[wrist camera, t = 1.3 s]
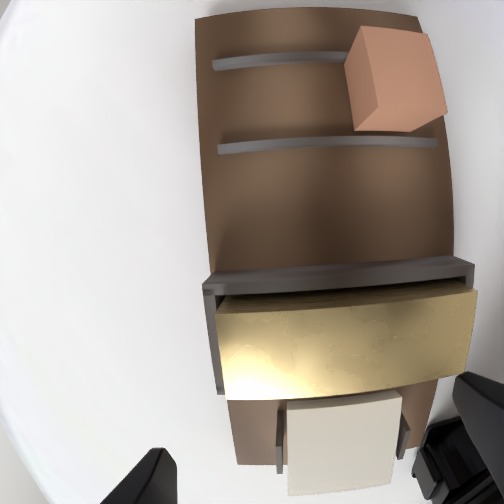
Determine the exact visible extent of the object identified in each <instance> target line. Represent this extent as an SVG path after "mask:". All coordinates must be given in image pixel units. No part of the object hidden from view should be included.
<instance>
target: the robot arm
mask: <svg viewBox="0 0 504 504" xmlns="http://www.w3.org/2000/svg"><path fill="white" fill-rule="evenodd" d="M452 398H453V401H454V403H455V405H456V408H457V410H458V412H459V414H460V417H457V418H454V419H450V420H447V421H443V422H440V423H436V424H433V425H430V426H429V427H428V428H427V430H426V433H425V436H424V439H423V442H422V445H421V448H420V449H419V451H418V454H417V457H416V460H415V462H414V465H413V470H412V473H411V474H412V477H413V478H417V480H418V483H419V486H420V488H421V491H422V493H423V496H424V498H425V499H426V500H429V499H431V501H432V504H504V384H502V383H499V382H496V381H494V380H491V379H488V378H485V377H483V376H480V375H477V374H475V373H472V372H469V371H466V372H463V373H461V374H459V375H458V376H457V377H456V379H455V383H454V388H453V393H452ZM100 504H177V466H176V463H175V461H174V460H173V458H172V457H171V455H170V454H169V453H168V451H167V450H166V449H165V448H152V449H150V450H149V452H148V453H147V454H146V455H145V456H144V457H143V458H142V459H141V460H140V461H139V463H138V464H137V465H136V466H135V467H134V468H133V469H132V470H131V471H130V472H129V473H128V475H127V476H126V477H125V478H124V479H123V480H122V481H121V482H120V483H119V484H118V485H117V486H116V487H115V488H114V489H113V491H112V492H111V493H110V494H109V495H108V496H107V497H106V498H105V499H104V500H103V501H102V502H101V503H100Z"/></svg>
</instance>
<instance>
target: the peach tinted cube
mask: <svg viewBox="0 0 504 504" xmlns="http://www.w3.org/2000/svg"><path fill="white" fill-rule="evenodd" d="M344 69H345V74H346V80H347V86H348V92H349V98H350V104H351V111H352V118H353V126H354V131H398V132H411V131H413V130H415V129H417V128H419V127H421V126H422V125H424V124H426V123H428V122H430V121H432V120H434V119H436V118H438V117H440V116H442V115H444V114H446V113H447V107H446V102H445V97H444V93H443V88H442V84H441V80H440V76H439V72H438V68H437V64H436V60H435V57H434V53H433V50H432V47H431V43H430V40H429V37H428V34H423V33H417V32H411V31H404V30H397V29H390V28H381V27H371V26H360V29H359V31H358V33H357V36H356V38H355V40H354V42H353V45H352V47H351V49H350V52H349V54H348V56H347V58H346V61H345V63H344Z"/></svg>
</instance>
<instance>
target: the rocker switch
mask: <svg viewBox="0 0 504 504" xmlns="http://www.w3.org/2000/svg"><path fill="white" fill-rule="evenodd" d="M401 405H402V396H401V395H400V394H399V393H398V392H397V391H396V390H391V391H385V392H379V393H372V394H365V395H357V396H349V397H339V398H329V399H318V400H304V401H287V447H288V496H294V495H312V494H324V493H333V492H342V491H349V490H356V489H363V488H369V487H374V486H380V485H385V484H389V483H390V481H391V476H392V471H393V465H394V460H395V453H396V447H397V440H398V432H399V424H400V415H401Z"/></svg>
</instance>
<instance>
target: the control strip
mask: <svg viewBox="0 0 504 504" xmlns="http://www.w3.org/2000/svg"><path fill="white" fill-rule="evenodd" d="M360 26H371V27H381V28H390V29H397V30H404V31H411V32H417V33H423V32H422V29H421V26H420V24H419V21H418V18H417V17H415V16H410V15H404V14H397V13H390V12H383V11H374V10H364V9H351V8H330V7H296V8H275V9H261V10H251V11H242V12H234V13H227V14H220V15H214V16H209V17H203V18H198V19H195V51H196V82H197V105H198V124H199V141H200V157H201V171H202V185H203V197H204V209H205V221H206V232H207V242H208V252H209V262H210V272H211V276H210V277H209V278H208V279H207V280H206V281H205V282H204V283H203V284H202V290H203V298H204V306H205V314H206V321H207V329H208V336H209V343H210V350H211V357H212V364H213V370H214V377H215V383H216V389H217V395H226V392H225V386H224V379H223V372H222V365H221V358H220V350H219V343H218V335H217V327H216V319H215V313H216V311H217V310H218V308H219V306H220V305H221V303H222V301H223V300H224V298H225V296H226V295H239V294H260V293H278V292H295V291H311V290H325V289H338V288H351V287H363V286H375V285H386V284H396V283H406V282H416V281H425V280H434V279H443V278H453V279H455V280H457V281H459V282H461V283H463V284H465V285H467V286H469V287H471V288H473V282H474V268H475V264H473V263H470V262H467V261H465V260H462V259H459V258H457V257H454V256H453V249H454V219H453V194H452V179H451V168H450V158H449V150H448V142H447V135H446V129H445V122H444V117H443V115H442V116H440V117H438V118H436V119H434V120H432V121H430V122H428V123H426V124H424V125H422V126H421V127H419V128H417V129H415V130H413V131H411V132H398V131H354V126H353V118H352V111H351V104H350V98H349V92H348V86H347V80H346V74H345V69H344V63H345V61H346V58H347V56H348V54H349V52H350V49H351V47H352V45H353V42H354V40H355V38H356V36H357V33H358V31H359V29H360ZM437 382H438V379H435V380H430V381H425V382H420V383H415V384H410V385H405V386H399V387H394V388H387V389H381V390H374V391H367V392H360V393H352V394H343V395H333V396H322V397H309V398H292V399H262V400H229V399H227V403H228V410H229V416H230V422H231V429H232V435H233V441H234V446H235V452H236V458H237V464H238V465H277V474H282V472H283V465H288V447H287V401H304V400H318V399H329V398H339V397H349V396H357V395H365V394H372V393H379V392H385V391H391V390H396V391H397V392H398V393H399V394H400V395H401V396H402V405H401V415H400V424H399V432H398V440H397V447H396V453H395V454H396V456H397V459H398V460H399V459H403V456H404V453H405V450H406V449H409V448H414V447H418V446H420V444H421V441H422V438H423V435H424V432H425V428H426V425H427V422H428V418H429V415H430V411H431V407H432V403H433V399H434V395H435V391H436V387H437Z"/></svg>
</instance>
